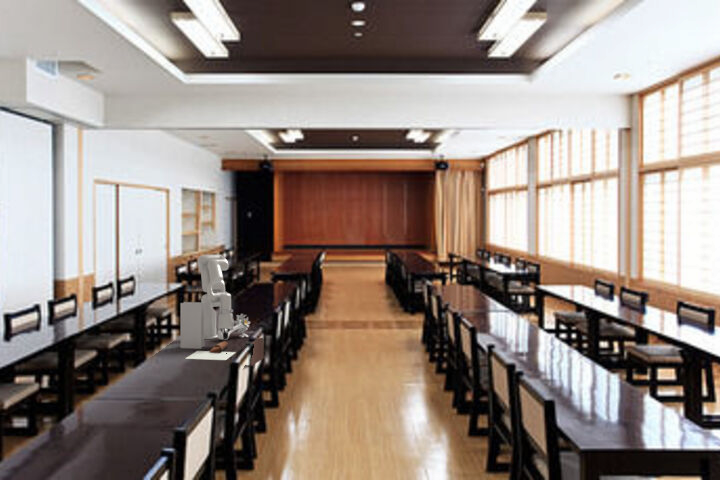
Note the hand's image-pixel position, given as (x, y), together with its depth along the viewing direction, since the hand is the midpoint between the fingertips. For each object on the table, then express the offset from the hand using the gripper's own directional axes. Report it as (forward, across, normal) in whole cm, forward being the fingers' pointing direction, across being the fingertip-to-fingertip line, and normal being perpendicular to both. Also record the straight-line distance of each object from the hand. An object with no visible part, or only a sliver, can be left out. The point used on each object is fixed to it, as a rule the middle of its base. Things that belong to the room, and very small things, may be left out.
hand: (225, 338), depth 378 cm
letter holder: (+7, -28, +38) cm, 47 cm away
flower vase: (+5, +2, -24) cm, 25 cm away
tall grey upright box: (+5, +20, +7) cm, 22 cm away
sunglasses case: (+5, +1, +11) cm, 13 cm away
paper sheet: (+6, 0, +26) cm, 27 cm away
